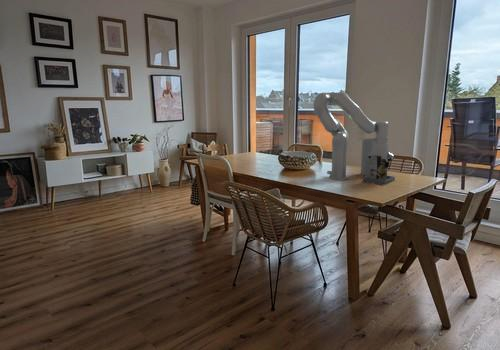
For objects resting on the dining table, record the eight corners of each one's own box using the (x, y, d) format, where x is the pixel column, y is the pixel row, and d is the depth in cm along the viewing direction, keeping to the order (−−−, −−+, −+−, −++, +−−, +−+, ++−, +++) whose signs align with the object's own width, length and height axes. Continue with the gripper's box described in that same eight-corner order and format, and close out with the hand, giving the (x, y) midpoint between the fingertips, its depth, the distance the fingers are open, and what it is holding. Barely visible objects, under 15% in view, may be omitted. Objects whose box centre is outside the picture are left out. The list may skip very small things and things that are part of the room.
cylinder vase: (359, 175, 244) (360, 140, 239) (362, 172, 255) (364, 138, 250) (377, 177, 239) (380, 141, 233) (380, 173, 249) (382, 138, 244)
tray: (362, 181, 228) (362, 177, 227) (373, 177, 239) (373, 173, 238) (384, 184, 218) (384, 181, 217) (394, 180, 229) (394, 176, 228)
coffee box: (376, 181, 224) (378, 156, 220) (369, 179, 229) (370, 155, 226) (387, 179, 227) (388, 155, 224) (379, 177, 233) (381, 154, 229)
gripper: (365, 140, 226) (364, 166, 230) (392, 142, 214) (390, 169, 218) (371, 139, 231) (369, 164, 235) (397, 141, 219) (395, 167, 223)
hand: (379, 166), depth 226 cm, fingers open, 9 cm apart
